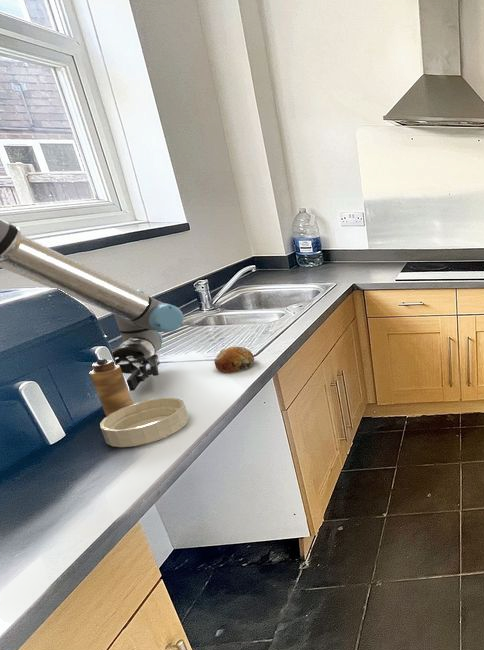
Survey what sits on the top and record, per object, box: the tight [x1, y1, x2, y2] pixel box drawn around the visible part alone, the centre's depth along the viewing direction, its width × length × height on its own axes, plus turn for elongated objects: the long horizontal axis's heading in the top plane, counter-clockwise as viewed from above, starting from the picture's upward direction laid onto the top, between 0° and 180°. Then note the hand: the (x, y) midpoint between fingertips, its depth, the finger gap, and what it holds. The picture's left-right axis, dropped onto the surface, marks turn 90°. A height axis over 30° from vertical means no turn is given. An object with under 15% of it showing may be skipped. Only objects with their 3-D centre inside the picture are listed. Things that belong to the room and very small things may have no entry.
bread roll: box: [213, 345, 255, 374], centre depth 125 cm, size 10×10×8 cm
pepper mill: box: [89, 358, 134, 417], centre depth 97 cm, size 5×5×14 cm
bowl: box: [99, 397, 190, 448], centre depth 92 cm, size 14×14×4 cm
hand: (102, 390), depth 93 cm, fingers open, 9 cm apart
